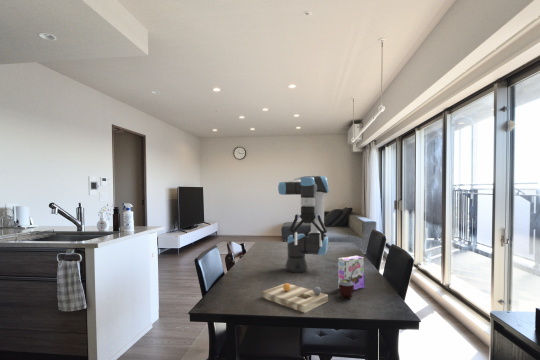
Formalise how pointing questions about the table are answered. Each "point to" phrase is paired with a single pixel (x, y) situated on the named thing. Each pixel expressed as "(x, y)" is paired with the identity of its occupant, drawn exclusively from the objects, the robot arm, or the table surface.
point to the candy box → (348, 266)
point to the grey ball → (317, 290)
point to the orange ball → (286, 287)
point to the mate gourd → (346, 287)
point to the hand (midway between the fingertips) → (308, 245)
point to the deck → (295, 297)
